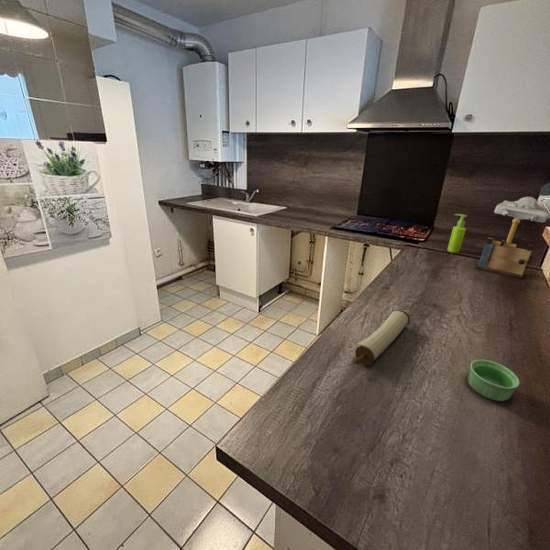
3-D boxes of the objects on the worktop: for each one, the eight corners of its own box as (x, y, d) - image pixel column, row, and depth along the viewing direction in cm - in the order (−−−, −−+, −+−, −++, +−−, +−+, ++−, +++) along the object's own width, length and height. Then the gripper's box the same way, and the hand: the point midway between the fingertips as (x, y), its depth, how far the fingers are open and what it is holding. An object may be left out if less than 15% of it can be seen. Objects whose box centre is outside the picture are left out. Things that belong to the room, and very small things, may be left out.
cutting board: (522, 274, 130) (534, 244, 125) (521, 278, 126) (534, 247, 120) (477, 265, 140) (487, 236, 134) (476, 268, 136) (486, 238, 130)
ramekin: (468, 368, 72) (473, 354, 70) (513, 386, 67) (520, 371, 65) (462, 389, 65) (467, 374, 64) (511, 410, 60) (519, 395, 58)
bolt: (515, 246, 128) (526, 218, 123) (515, 248, 126) (526, 219, 121) (488, 242, 133) (497, 215, 128) (488, 243, 131) (497, 216, 127)
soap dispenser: (447, 248, 164) (457, 212, 156) (460, 251, 159) (471, 215, 151) (443, 250, 161) (453, 214, 153) (456, 253, 156) (467, 216, 148)
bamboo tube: (364, 376, 68) (368, 359, 66) (343, 365, 72) (346, 348, 70) (414, 324, 90) (417, 310, 88) (396, 317, 93) (399, 303, 91)
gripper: (546, 221, 139) (542, 228, 131) (496, 211, 152) (490, 217, 143) (552, 208, 136) (549, 215, 128) (501, 199, 148) (495, 205, 140)
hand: (517, 216), depth 135 cm, fingers open, 8 cm apart
